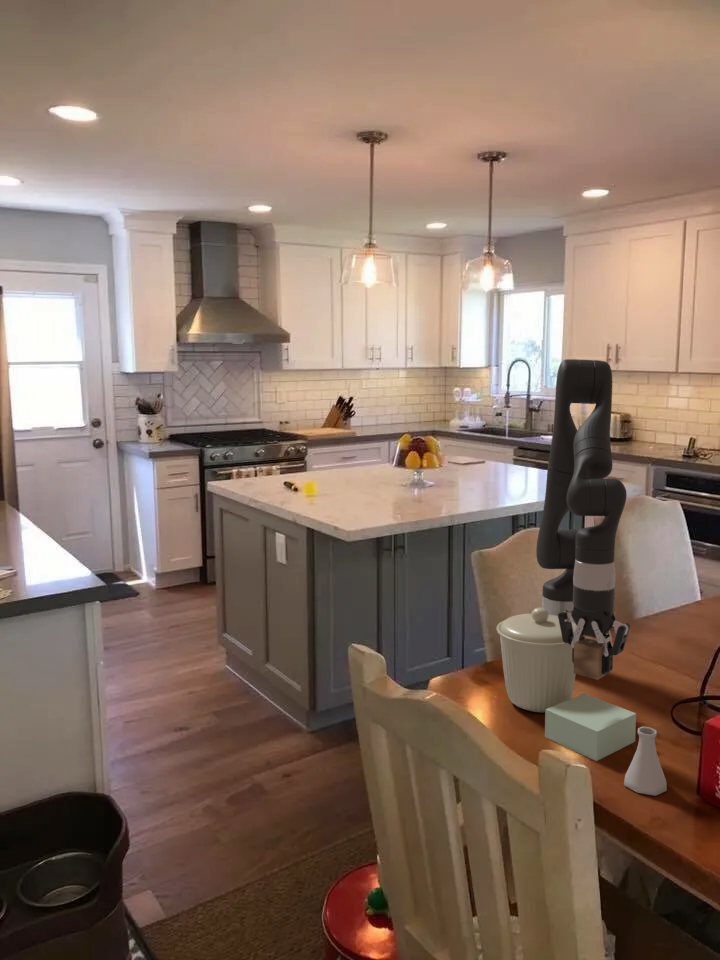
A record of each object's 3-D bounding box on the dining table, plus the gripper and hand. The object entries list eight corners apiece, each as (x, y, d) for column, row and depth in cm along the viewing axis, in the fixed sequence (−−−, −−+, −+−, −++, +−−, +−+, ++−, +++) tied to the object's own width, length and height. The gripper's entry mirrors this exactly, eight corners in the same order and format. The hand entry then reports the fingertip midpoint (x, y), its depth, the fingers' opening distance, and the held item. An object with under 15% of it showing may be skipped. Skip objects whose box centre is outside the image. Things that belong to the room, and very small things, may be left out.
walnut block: (573, 673, 149) (574, 643, 148) (586, 665, 153) (586, 636, 152) (597, 680, 146) (598, 649, 145) (610, 672, 149) (610, 642, 149)
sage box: (544, 738, 153) (545, 709, 152) (583, 721, 160) (584, 693, 159) (596, 762, 143) (597, 731, 142) (635, 742, 150) (636, 713, 149)
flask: (632, 770, 140) (634, 717, 138) (673, 783, 135) (676, 728, 134) (616, 787, 134) (618, 732, 133) (659, 801, 130) (661, 744, 128)
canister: (598, 702, 167) (601, 607, 164) (550, 730, 155) (552, 628, 152) (528, 679, 181) (529, 590, 178) (478, 702, 168) (479, 608, 165)
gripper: (639, 585, 145) (636, 673, 147) (569, 573, 154) (567, 655, 157) (621, 594, 139) (618, 685, 142) (549, 580, 149) (548, 666, 151)
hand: (591, 669), depth 149 cm, fingers closed on walnut block, 5 cm apart
